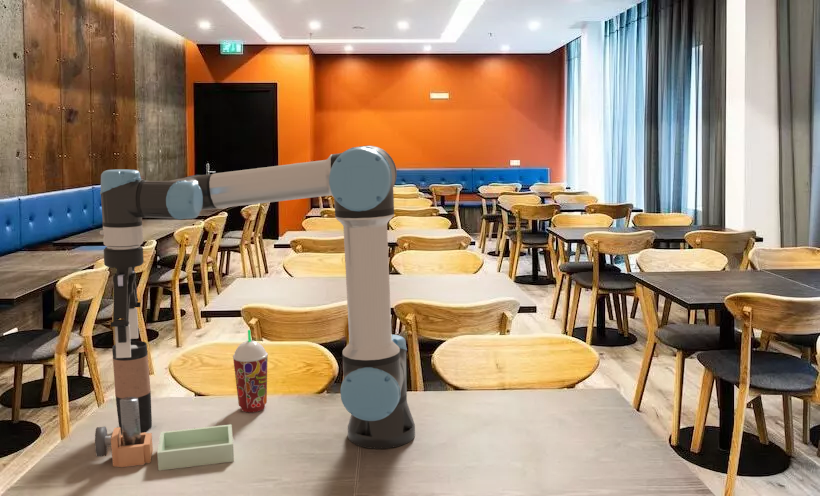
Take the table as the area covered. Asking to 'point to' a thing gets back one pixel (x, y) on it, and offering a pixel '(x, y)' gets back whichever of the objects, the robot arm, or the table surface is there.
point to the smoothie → (251, 375)
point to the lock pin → (130, 421)
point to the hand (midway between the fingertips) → (127, 347)
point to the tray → (195, 447)
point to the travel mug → (134, 382)
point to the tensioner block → (123, 448)
